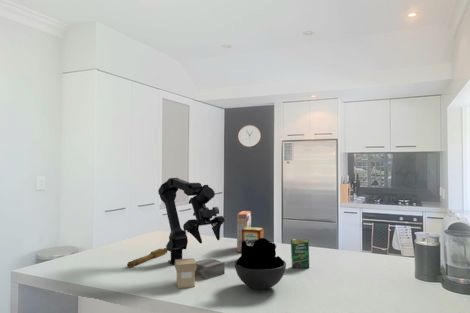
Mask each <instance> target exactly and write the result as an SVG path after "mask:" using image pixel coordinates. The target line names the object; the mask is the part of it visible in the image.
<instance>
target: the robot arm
mask: <svg viewBox="0 0 470 313" xmlns="http://www.w3.org/2000/svg"><path fill="white" fill-rule="evenodd" d="M179 190H181V191H183V194H185V195H186V196H188V197H189V201H188V204H189V205H190V204H191V205H192V206H191V207H192V210H193V213H192V216H194V217H195V219H194V218H193V219H188V220H187V221H186V222H184V224H183V226H182V227H181V223H180V219H179V215H178V210H177V206H176V201H175V200H176V198H177V192H178V191H179ZM215 194H216V193H215V190H214V189H213V188H212V187H210V186H209V184H204V185H202V184H201V183H200V182H189V181H187V180H183V179H181V178H179V177H169V178H168V179H167V180H166V181H165V182H164V183H162V184H160V187H159V188H158V195H159V198H160V200H161V201H162V202H163V203H164V206H165V209H166V214H167V219H168V223H169V228H170V234H169V236H168V240H169V241H168V242H167V244H166V245H165V248H166V249H167V250H168V251H169V252H170V259H169V260H167V262H168V263H170V265H175V260H176V259H183V250H187V247H188V242H189V241H188V240H189V239H188V236H187V233H189V234H190V235H191V236H192V237H193V238H195V240H197V242H198V243H199V244H203V240H202V237H201V233H200V227H202V226H207V225H211V230H212V232H213V234H214V236H215V238H216V240H217V241H220V238H221V227H222V225H223V224H224V223H225V221H226V219H225V217H224V216H223V215H219V214H220V209H219V207H218V206H212V208H211V209H210V208H209V207H208V206H206V204H208V203H209V202H210V201H211V200H212V199H213V198H214V197H215ZM190 196H192V197H190ZM218 215H219V216H218ZM168 251H167V252H168Z"/></svg>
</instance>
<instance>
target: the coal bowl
mask: <svg viewBox="0 0 470 313" xmlns="http://www.w3.org/2000/svg"><path fill="white" fill-rule="evenodd" d="M276 249H277V244H276V243H274V242H271V241H270V240H268V239H266V238H265V237H264V238H260V239H258V240H257V241H254V244H253V246H248V245H246V242H245V241H244V240H243V241H242V247H241V252H240V254H241V255H240V256H239V257H238V258H237V259H236V260H235V261H234V269H235V272H236V274H237V277H238V278H239V280H240V281H241V282H242V283H243V284H244V285H246V286H247V287H249V288H251V289H254V290H259V291H260V290H262V291H263V290H267V289H270V288H273V287H275V286H276V285H277V284H278V283H279V282H280V281H281V280H282V279H283V276H284V275H285V272H286V268H287V262H286V261H285V260H283V259H282V257H280V256H276V255H277V253H276Z"/></svg>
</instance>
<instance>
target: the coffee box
mask: <svg viewBox="0 0 470 313" xmlns="http://www.w3.org/2000/svg"><path fill="white" fill-rule="evenodd" d="M290 252H291V253H290V254H291V255H290V256H291V258H290V259H291V268H292V269H310V244H309V239H308V238H296V239H294V238H293V239H291V240H290Z"/></svg>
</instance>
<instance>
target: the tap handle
mask: <svg viewBox="0 0 470 313" xmlns="http://www.w3.org/2000/svg"><path fill="white" fill-rule="evenodd" d="M167 253H168V250H167V249H166V247H164V248H158V249H155V250H153V251H150V253H149V254H148V255H147V254H146V255H144V256H142V257H141V256H140V257H139V258H136V259H133V260H130V261H128V262H127V263H126V266H127V267H128V268H129V269H131V268H133V267H135V266H138V265H140V264H143V263H145V262H147V261H149V260H152V259H157V258H159V257H162V256H164V255H166V254H167Z"/></svg>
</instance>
